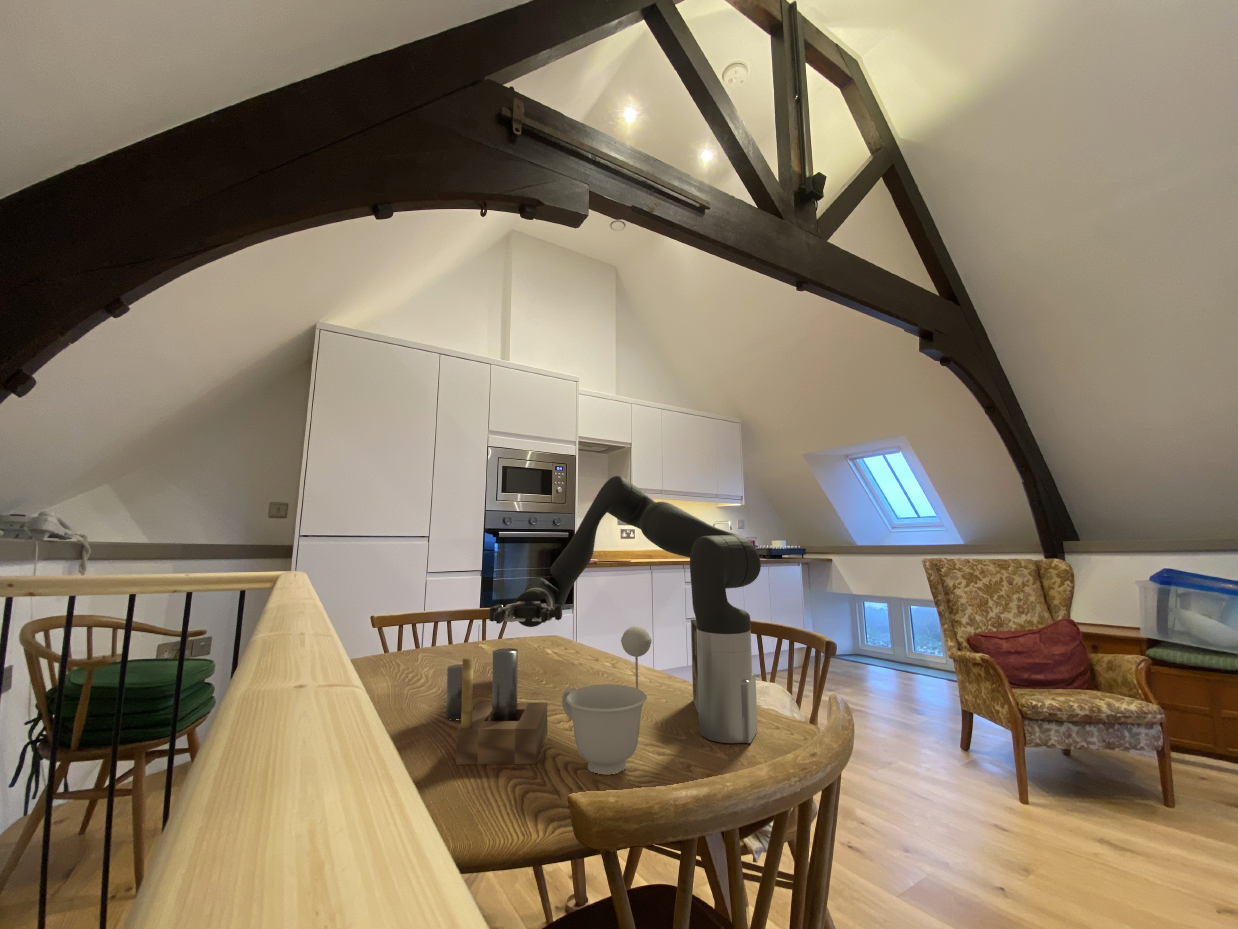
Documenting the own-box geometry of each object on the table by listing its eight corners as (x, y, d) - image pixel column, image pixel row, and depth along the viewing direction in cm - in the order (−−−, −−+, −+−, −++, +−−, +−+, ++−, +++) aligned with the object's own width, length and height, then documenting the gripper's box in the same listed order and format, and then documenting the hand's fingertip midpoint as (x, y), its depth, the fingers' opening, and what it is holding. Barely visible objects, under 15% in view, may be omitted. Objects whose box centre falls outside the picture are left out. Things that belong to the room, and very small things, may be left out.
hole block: (547, 733, 92) (547, 642, 94) (536, 763, 80) (536, 659, 82) (477, 733, 92) (479, 643, 94) (455, 764, 80) (458, 660, 82)
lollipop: (617, 707, 105) (617, 628, 106) (626, 698, 110) (625, 623, 112) (648, 710, 103) (647, 629, 105) (655, 700, 108) (654, 624, 110)
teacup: (589, 739, 89) (589, 676, 90) (664, 763, 80) (662, 693, 81) (535, 764, 80) (535, 694, 81) (611, 795, 71) (611, 715, 72)
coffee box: (732, 715, 100) (729, 626, 102) (697, 715, 100) (695, 626, 102) (724, 699, 109) (721, 617, 111) (692, 699, 109) (690, 618, 111)
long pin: (522, 744, 87) (522, 649, 89) (507, 754, 84) (507, 654, 85) (502, 740, 89) (502, 647, 90) (486, 750, 85) (487, 652, 87)
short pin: (472, 714, 101) (473, 665, 102) (458, 721, 98) (459, 670, 99) (456, 711, 103) (457, 663, 104) (441, 718, 100) (442, 668, 101)
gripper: (501, 589, 118) (483, 598, 102) (566, 588, 118) (558, 596, 102) (501, 624, 117) (482, 638, 101) (566, 623, 117) (558, 637, 101)
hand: (520, 617), depth 102 cm, fingers open, 8 cm apart
